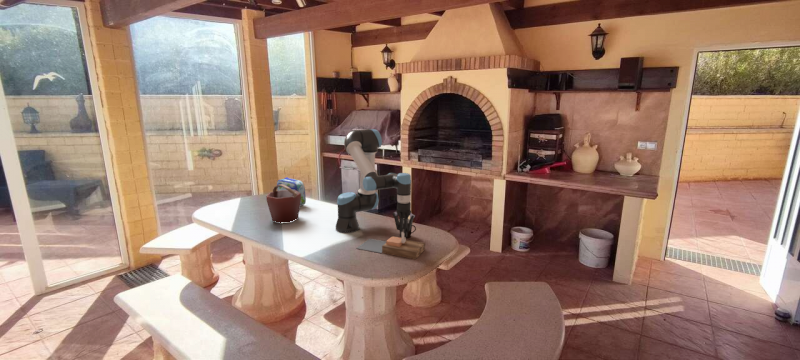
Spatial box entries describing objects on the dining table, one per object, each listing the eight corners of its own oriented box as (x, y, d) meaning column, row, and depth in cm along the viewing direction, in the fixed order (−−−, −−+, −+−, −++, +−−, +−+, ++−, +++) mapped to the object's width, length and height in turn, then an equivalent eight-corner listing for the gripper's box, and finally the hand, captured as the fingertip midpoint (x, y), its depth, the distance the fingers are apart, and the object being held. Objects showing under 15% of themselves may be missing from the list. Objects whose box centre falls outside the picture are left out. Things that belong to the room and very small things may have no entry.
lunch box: (276, 203, 308) (274, 177, 303) (287, 200, 316) (285, 175, 311) (295, 209, 292) (294, 182, 287) (307, 206, 300) (306, 179, 295)
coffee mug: (396, 235, 239) (396, 219, 236) (408, 233, 242) (409, 218, 240) (403, 241, 228) (403, 225, 226) (416, 239, 231) (417, 223, 229)
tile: (392, 239, 221) (392, 236, 220) (405, 241, 217) (405, 238, 217) (386, 244, 213) (386, 241, 213) (399, 246, 210) (399, 243, 210)
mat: (369, 239, 232) (369, 238, 232) (393, 243, 226) (393, 242, 225) (356, 248, 218) (356, 248, 218) (381, 253, 211) (381, 252, 211)
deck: (392, 243, 225) (392, 237, 224) (424, 249, 217) (425, 243, 216) (382, 252, 212) (382, 246, 211) (415, 259, 204) (415, 252, 203)
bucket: (306, 221, 263) (304, 186, 258) (273, 227, 251) (271, 190, 245) (294, 212, 283) (292, 179, 277) (263, 218, 271) (260, 183, 265)
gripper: (390, 202, 207) (390, 242, 213) (412, 204, 202) (411, 246, 208) (395, 198, 214) (395, 238, 219) (417, 201, 209) (416, 241, 214)
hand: (403, 242), depth 213 cm, fingers closed
